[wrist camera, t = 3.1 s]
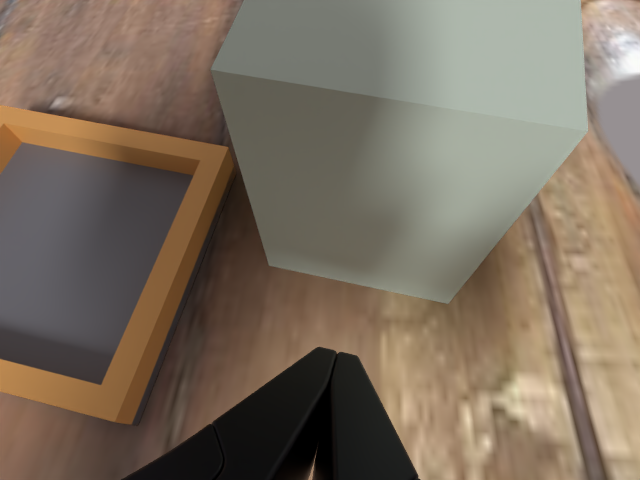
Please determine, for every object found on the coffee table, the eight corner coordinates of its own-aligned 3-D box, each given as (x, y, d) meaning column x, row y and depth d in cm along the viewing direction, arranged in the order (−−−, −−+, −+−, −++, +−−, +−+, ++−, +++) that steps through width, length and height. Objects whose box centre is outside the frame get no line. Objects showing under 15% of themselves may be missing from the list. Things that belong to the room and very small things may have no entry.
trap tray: (137, 425, 16) (114, 422, 15) (-132, 353, 18) (-183, 342, 16) (236, 172, 22) (228, 147, 20) (22, 131, 23) (-4, 104, 21)
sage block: (447, 304, 18) (588, 131, 9) (269, 265, 19) (210, 69, 9) (463, 157, 22) (575, -86, 12) (311, 130, 23) (300, -116, 13)
